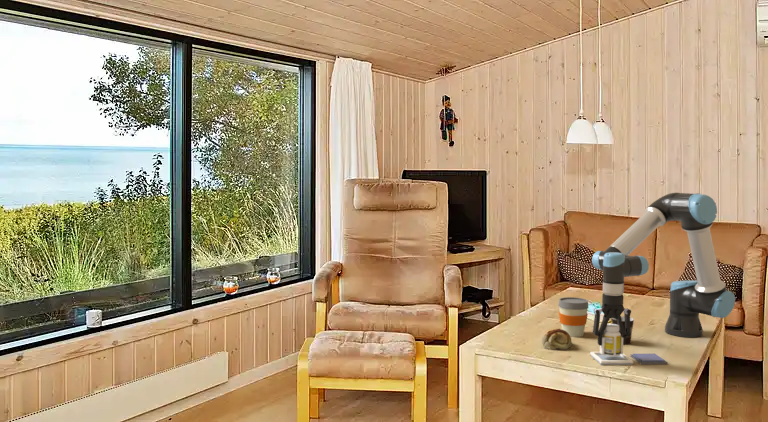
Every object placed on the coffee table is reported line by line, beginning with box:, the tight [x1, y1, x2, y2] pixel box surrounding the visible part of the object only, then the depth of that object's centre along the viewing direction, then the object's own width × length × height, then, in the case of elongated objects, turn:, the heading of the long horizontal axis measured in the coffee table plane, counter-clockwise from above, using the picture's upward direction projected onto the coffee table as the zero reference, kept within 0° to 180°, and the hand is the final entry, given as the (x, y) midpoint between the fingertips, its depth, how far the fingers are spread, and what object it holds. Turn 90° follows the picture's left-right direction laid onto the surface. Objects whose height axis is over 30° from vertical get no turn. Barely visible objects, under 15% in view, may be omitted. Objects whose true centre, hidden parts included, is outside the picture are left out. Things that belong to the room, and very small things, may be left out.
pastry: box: [541, 328, 573, 351], centre depth 271 cm, size 14×12×8 cm
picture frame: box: [589, 351, 634, 366], centre depth 253 cm, size 12×12×1 cm
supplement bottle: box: [603, 323, 621, 357], centre depth 252 cm, size 6×6×11 cm
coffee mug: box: [611, 315, 635, 345], centre depth 277 cm, size 12×9×10 cm
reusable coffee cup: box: [558, 296, 589, 338], centre depth 289 cm, size 13×13×15 cm
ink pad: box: [629, 353, 669, 366], centre depth 252 cm, size 10×10×1 cm
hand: (611, 353), depth 252 cm, fingers closed on supplement bottle, 6 cm apart
